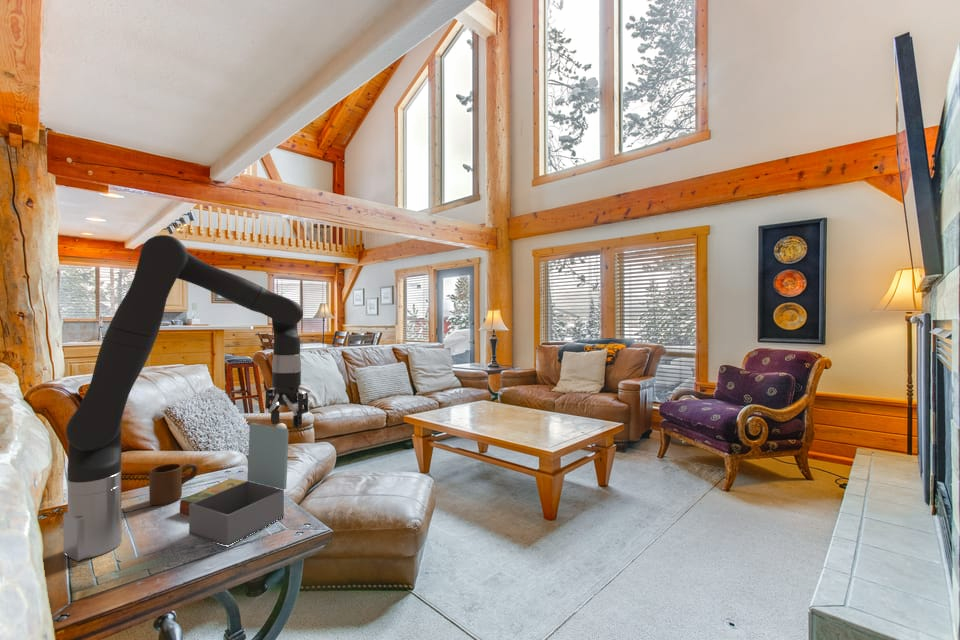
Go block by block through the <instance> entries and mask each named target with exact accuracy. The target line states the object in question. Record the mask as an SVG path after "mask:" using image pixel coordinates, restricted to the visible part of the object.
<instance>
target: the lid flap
mask: <svg viewBox="0 0 960 640" xmlns="http://www.w3.org/2000/svg"><path fill="white" fill-rule="evenodd" d="M289 431H290V430H289V429H288V427H287V424H285V423H282V422H281V423H280V422H279V423H278V424H276V426H271V425H266V424H260V423H255V422H250V423H249V434H248V438H249V439H248V455H247V457H248V459H247V460H248V462H247V479H246V481H250V482H254V483H258V484H262V485H266V486H270V487H274V488H277V489H281V490H286V489H287V483H288V482H287V478H288V477H287V476H288V458H289V457H288V455H289V453H288V452H289Z"/></svg>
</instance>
